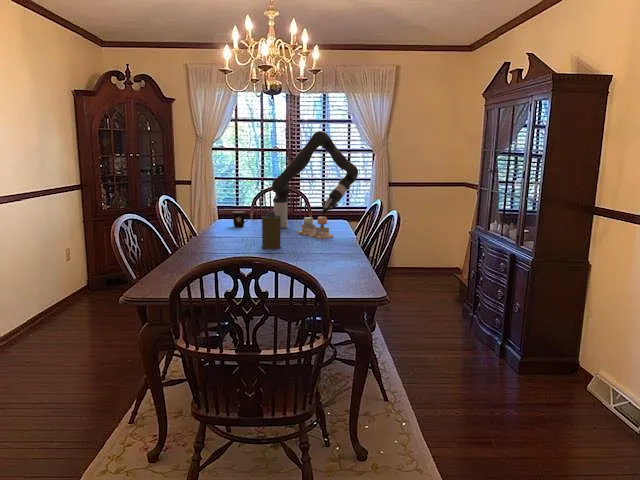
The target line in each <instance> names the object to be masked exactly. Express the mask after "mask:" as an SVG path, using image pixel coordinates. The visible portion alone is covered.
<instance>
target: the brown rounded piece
mask: <svg viewBox="0 0 640 480" xmlns="http://www.w3.org/2000/svg"><path fill="white" fill-rule="evenodd" d="M317 225H320V227H321V228H324V227H325V225H328V217H327V216H318V217H317Z"/></svg>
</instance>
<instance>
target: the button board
mask: <svg viewBox="0 0 640 480" xmlns="http://www.w3.org/2000/svg"><path fill="white" fill-rule="evenodd" d="M296 234H299V235H303V236H307V237H309V238H310V237H311V238H315V239H319V240H324V239H333V238H334V234H330V227H329V226H324V228H321V226H316V224H314V223H313V225H304V223H302V224H301V230H297V231H296Z"/></svg>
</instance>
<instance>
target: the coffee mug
mask: <svg viewBox="0 0 640 480" xmlns="http://www.w3.org/2000/svg"><path fill="white" fill-rule="evenodd" d="M246 216H249V218H248V219H246V220H245V217H246ZM251 218H252V216H251V214H249V213H246V211H240V210H237V211H232V219H233V226H234V228H244V225H245V223H247V222H248V221H249V220H250V219H251Z"/></svg>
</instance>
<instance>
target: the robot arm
mask: <svg viewBox="0 0 640 480" xmlns="http://www.w3.org/2000/svg"><path fill="white" fill-rule="evenodd" d="M319 147H322V148H323V149H324V150H326V152H327V153H328V154H329V155H330V157H331V159H332V160H333V162H334V163H335V164H336V165H337V166H338V168H339V169H340V170H343V171H345V172H346V174H345V176H344V177H342V178H341V179H340V180H339V182H338V183H337V184H336V185H335V186H334V188H332V190H331V192H330V193H329V195H328V198H327V199H326V200H322V210H321V211H320V213H321V216H322V215H324V216H325V215H326V214H327V212H328V211H332V210H333V209H335V208H336V207H338V206H339V204H338V203H339V202H341V200H342V198H343V197H344V195H345V194H346V192H347V191H348V189H349V188H350V186H351V185H353V183H354V182H355V181H356V180H357V178H358V176H359V175H358V174H359V169H358V167H357V166H356V165H355V164H353V163H352V162H351V161H349V160H348V159H347V157H345V155H344V154H343V153H342V152H341V151H340V150H339V148H337V146H336V145H335V143H334V142H333V140H332V138H331V137H330V135H329V134H328V133H327V132H325V131H321V130H319V131H316V132H314V134H312V136H311V137H310V139H309V140H308V141H307V142H306V144H305V145H304V146H303V148H301V150H300V151H299V152H298V153H297V154H296V156H295V157H294V158H293V159H292V161H290V162H289V164H288V165H287V167H286V168H285V169H284V170H283V171H282V173H280V174H279V175H278V176H277V177H276V178H274V180H273V181H272V184H271V188H272V189H271V190H272V191H274V192H275V195H274V198H273V211H274V212H275V215H278V216H281V222H280V229H283V228H288V199H289V189H290V188H289V186H290V185H289V182H290V181H291V180H292V179H294V178H295V177H296V176H297V175H298V174H300V173H301V172H302V171H303V170H304V169H305V168H306V167H307V166H308V164H309V162H310V161H311V159H312V156H313V154H314V153H315V151H316V150H317V149H318V148H319Z"/></svg>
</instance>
